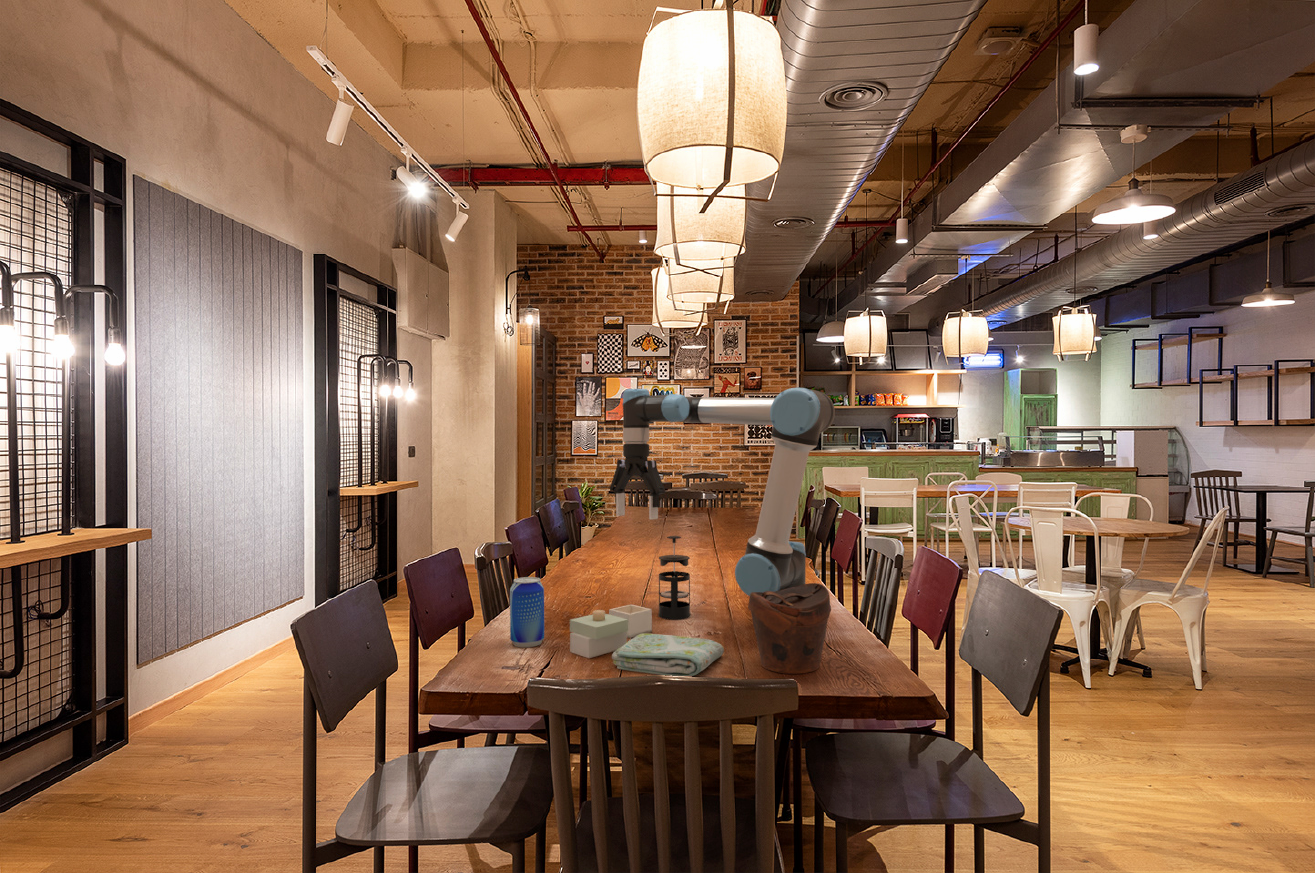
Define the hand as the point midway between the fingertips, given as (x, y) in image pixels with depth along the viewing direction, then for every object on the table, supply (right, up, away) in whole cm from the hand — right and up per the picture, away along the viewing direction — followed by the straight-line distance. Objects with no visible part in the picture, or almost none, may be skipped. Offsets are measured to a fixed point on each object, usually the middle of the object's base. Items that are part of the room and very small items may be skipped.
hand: (636, 517), depth 203 cm
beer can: (-27, -29, -25) cm, 47 cm away
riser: (-8, -29, -31) cm, 43 cm away
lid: (-8, -24, -31) cm, 40 cm away
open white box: (-1, -29, -15) cm, 32 cm away
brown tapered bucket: (+35, -29, -43) cm, 63 cm away
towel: (+8, -29, -40) cm, 51 cm away
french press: (+11, -29, +3) cm, 31 cm away
